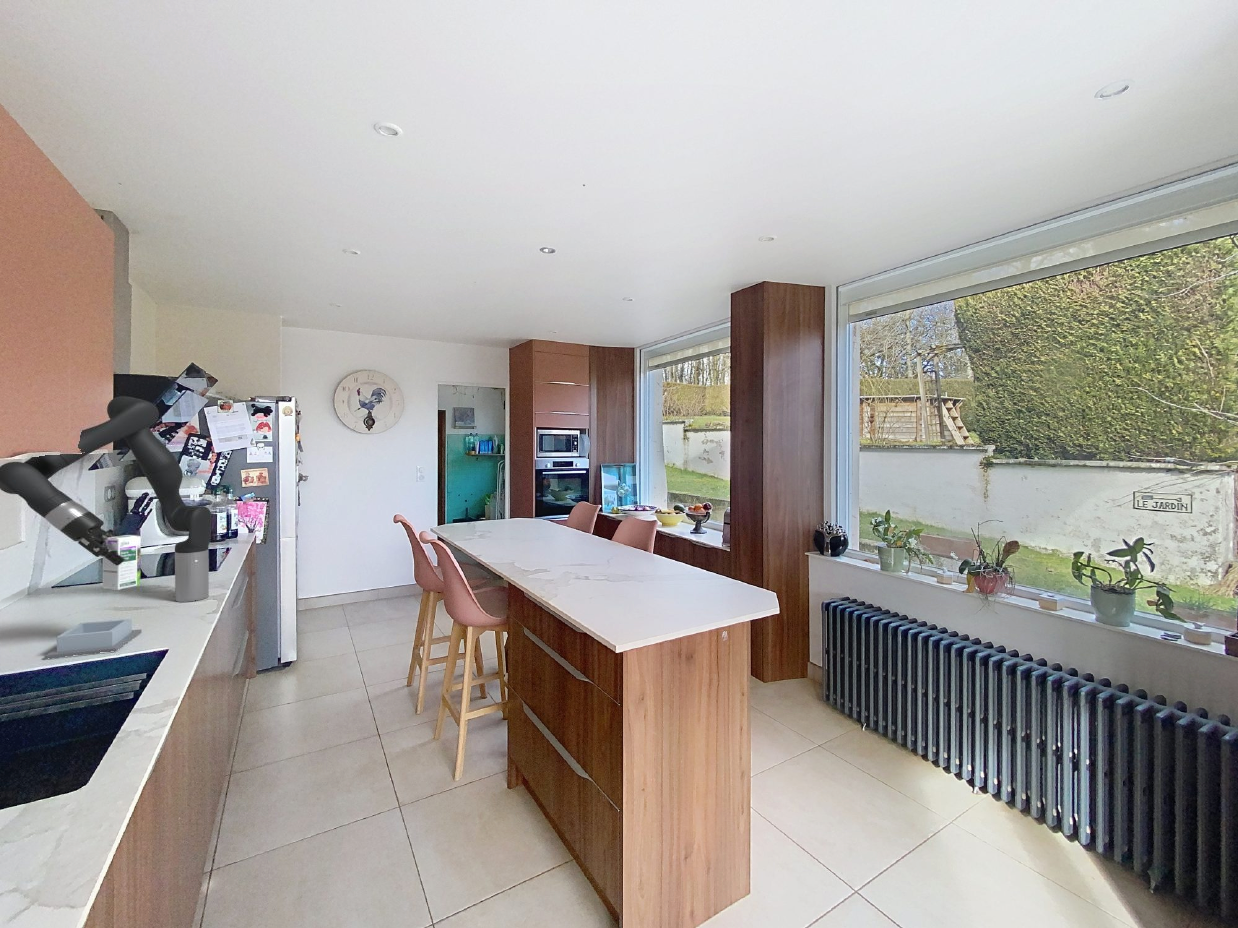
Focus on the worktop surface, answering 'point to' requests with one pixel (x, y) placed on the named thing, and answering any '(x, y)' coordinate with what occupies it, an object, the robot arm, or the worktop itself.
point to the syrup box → (123, 563)
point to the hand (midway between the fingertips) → (128, 560)
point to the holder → (94, 638)
